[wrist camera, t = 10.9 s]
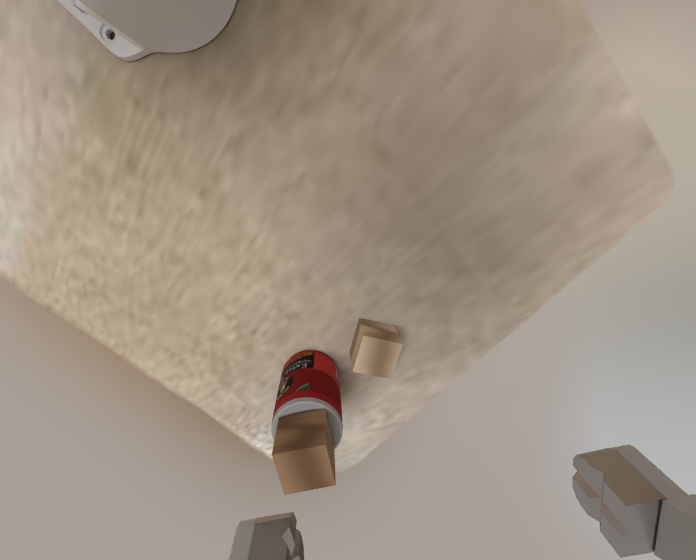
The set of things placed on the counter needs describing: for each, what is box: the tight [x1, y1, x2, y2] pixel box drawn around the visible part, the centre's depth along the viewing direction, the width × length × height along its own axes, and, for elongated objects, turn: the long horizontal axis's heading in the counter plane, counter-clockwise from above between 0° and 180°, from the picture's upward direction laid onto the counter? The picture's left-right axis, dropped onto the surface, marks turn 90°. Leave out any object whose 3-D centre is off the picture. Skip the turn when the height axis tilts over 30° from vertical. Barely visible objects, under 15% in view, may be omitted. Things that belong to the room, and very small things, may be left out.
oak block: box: [350, 318, 403, 379], centre depth 44 cm, size 5×5×5 cm
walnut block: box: [272, 409, 336, 495], centre depth 35 cm, size 5×5×5 cm
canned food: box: [272, 350, 343, 449], centre depth 42 cm, size 8×8×11 cm
